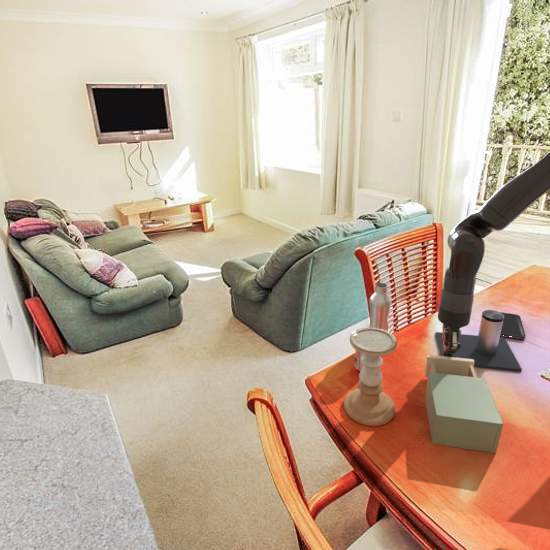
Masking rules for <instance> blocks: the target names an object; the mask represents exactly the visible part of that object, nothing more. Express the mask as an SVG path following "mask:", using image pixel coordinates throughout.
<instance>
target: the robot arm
mask: <svg viewBox="0 0 550 550" xmlns="http://www.w3.org/2000/svg"><path fill="white" fill-rule="evenodd" d="M549 191H550V151H549V152H548V153H547V154H546V155H544V157H542V158H540V160H538V161H537V162H536V163H534V164H533V165H532V166H530V167H528V168H527V169H525V170H524V171H523V172H521V173H519V174H518V175H516V176H515V177H513V178H512V179H510V180H509V181H508V182H506V183H505V184H504V185H503V186H502V187H500V188H499V189H498V190H497V191H496V192H495V193H494V194H493V195H492V196H490V198H489V199H488V200H486V202H485V203H484V204H483V205H482V206H481V207H480V208H479V209H477V210H476V211H474V212H473V213H471V214H470V215H468V216H466V217H465V218H464V219H462V220H461V221H460V222H458V223H457V224H456V225H455V226H454V227H453V228H452V230H451V231H450V232H449V234H448V236H447V245H448V247H449V249H450V259H449V265H448V266H447V267H446V268H445V271H444V272H445V273H444V277H443V284H442V288H441V291H440V292H441V293H440V298H439V304H438V311H437V319H438V321H439V323H441V324H442V326H441V327H442V333H443V334H442V338H443V339H442V341H443V347H444V349H443V356H445V357H453V354H456V353H457V352H458V350H459V349H460V347H461V345H460V343H458V342H459V337H461V334H462V330H461V329H462V328H464V327H467V326H469V324H470V323H471V316H472V310H473V305H474V299H475V297H474V294H475V287H476V281H477V274H478V272H479V270H480V267H481V265H482V263H483V260H484V257H485V251H486V244H485V243H486V242H485V240H484V239H485V238H486V237H488V236H489V235H490V234H492V233H493V232H500V231H503V230H505V229H506V228H507V227H508V226H510V225H511V223H513V222H515V220H516V219H517V218H519V217H520V216H521V215H522V214H523V213H524V212H525V211H527V209H529V208H530V207H531V206H532V205H533V204H534V203H535V202H537V201H538V200H539V199H540V198H542V197H543V196H544V195H545V194H547V192H549Z"/></svg>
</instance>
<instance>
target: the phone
mask: <svg viewBox="0 0 550 550" xmlns="http://www.w3.org/2000/svg"><path fill="white" fill-rule="evenodd" d="M499 312H500V313H502V314H503V315H504V320H503V325H502V329H501V334H500V336H501V337H500V338H506V337H509V336H512V337H509V338H508V339H512V338H517V339H516V340H518V339H525V340H526V332H525V329H524V328H525V327H524V325H523V322H522V318H521V316H520V315H519V314H515V313H509V312H502V311H499ZM503 335H504V336H503Z"/></svg>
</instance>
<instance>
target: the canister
mask: <svg viewBox="0 0 550 550" xmlns="http://www.w3.org/2000/svg"><path fill="white" fill-rule="evenodd" d="M500 312H501V311H497V310H493V309H486V310H485V309H484V310H483V311H482V312H481V319H480V324H479V327H478V328H479V331H478V334H477V336H478V339H477V344H476V350H477V351H478V352H480V353H482V354H485V355H494V354H496V352H497V348H498V343H499V338H501V337H500V334H501V329H502V325H503V320H504V315H503V314H502V313H503V312H502V313H500Z"/></svg>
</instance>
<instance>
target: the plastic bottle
mask: <svg viewBox="0 0 550 550" xmlns="http://www.w3.org/2000/svg"><path fill="white" fill-rule="evenodd" d="M391 307H392V298H391V296H390V295H389V285H388V284H387V283H385V282H376V283H375V285H374V292H373V293H372V294H371V296H370V297H369V312H370V319H369V327H371V328H379V329H383V330H386V331H388V332H390V329H389V317H390V311H391ZM369 327H368V328H369Z"/></svg>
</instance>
